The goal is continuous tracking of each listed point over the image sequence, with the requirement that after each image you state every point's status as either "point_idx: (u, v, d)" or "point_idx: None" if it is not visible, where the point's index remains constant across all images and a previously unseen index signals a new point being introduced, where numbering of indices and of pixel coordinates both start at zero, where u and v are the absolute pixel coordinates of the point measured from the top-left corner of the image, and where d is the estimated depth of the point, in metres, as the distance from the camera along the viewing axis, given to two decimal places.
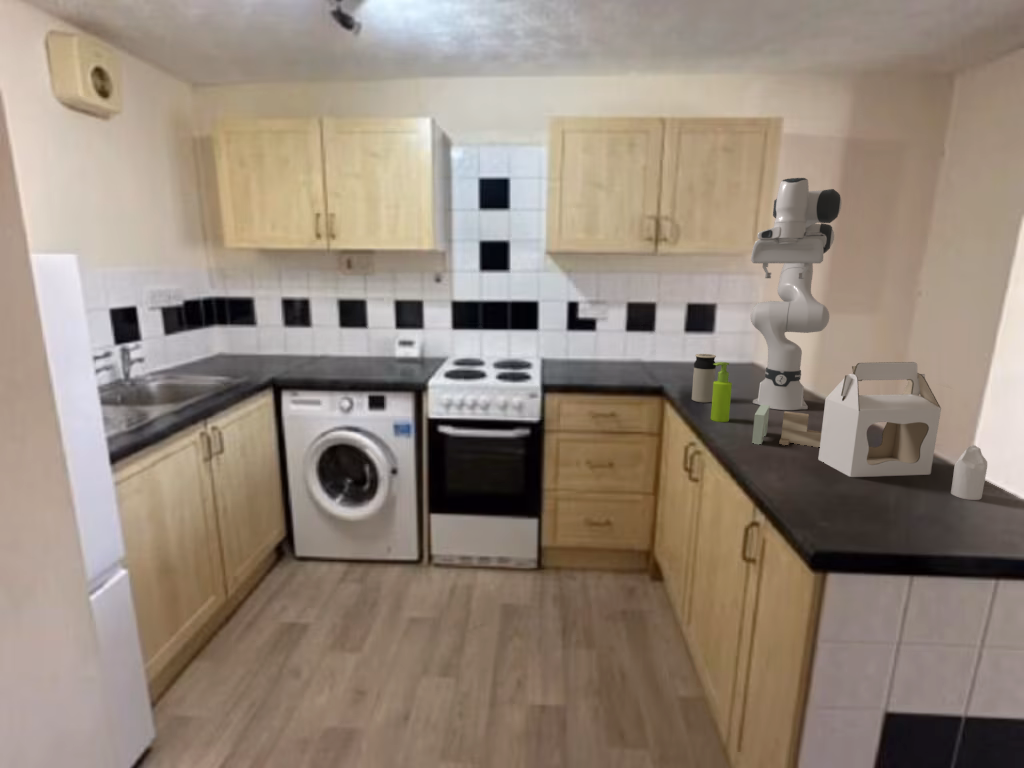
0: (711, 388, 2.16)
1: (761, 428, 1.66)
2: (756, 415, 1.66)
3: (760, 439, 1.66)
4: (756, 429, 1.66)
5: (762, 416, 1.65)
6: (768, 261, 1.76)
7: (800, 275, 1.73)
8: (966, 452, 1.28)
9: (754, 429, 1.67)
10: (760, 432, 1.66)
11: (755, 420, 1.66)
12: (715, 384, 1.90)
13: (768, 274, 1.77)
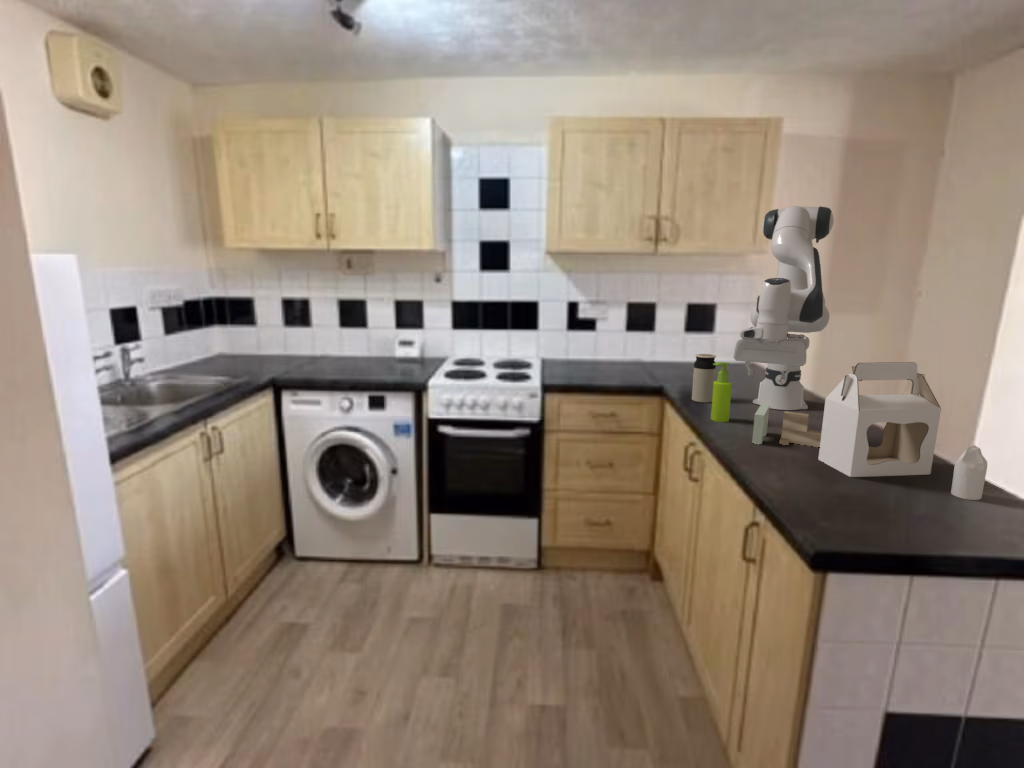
0: (711, 388, 2.16)
1: (761, 428, 1.66)
2: (756, 415, 1.66)
3: (760, 439, 1.66)
4: (756, 429, 1.66)
5: (762, 416, 1.65)
6: (750, 360, 1.73)
7: (783, 376, 1.70)
8: (966, 452, 1.28)
9: (754, 429, 1.67)
10: (760, 432, 1.66)
11: (755, 420, 1.66)
12: (715, 384, 1.90)
13: (751, 372, 1.74)
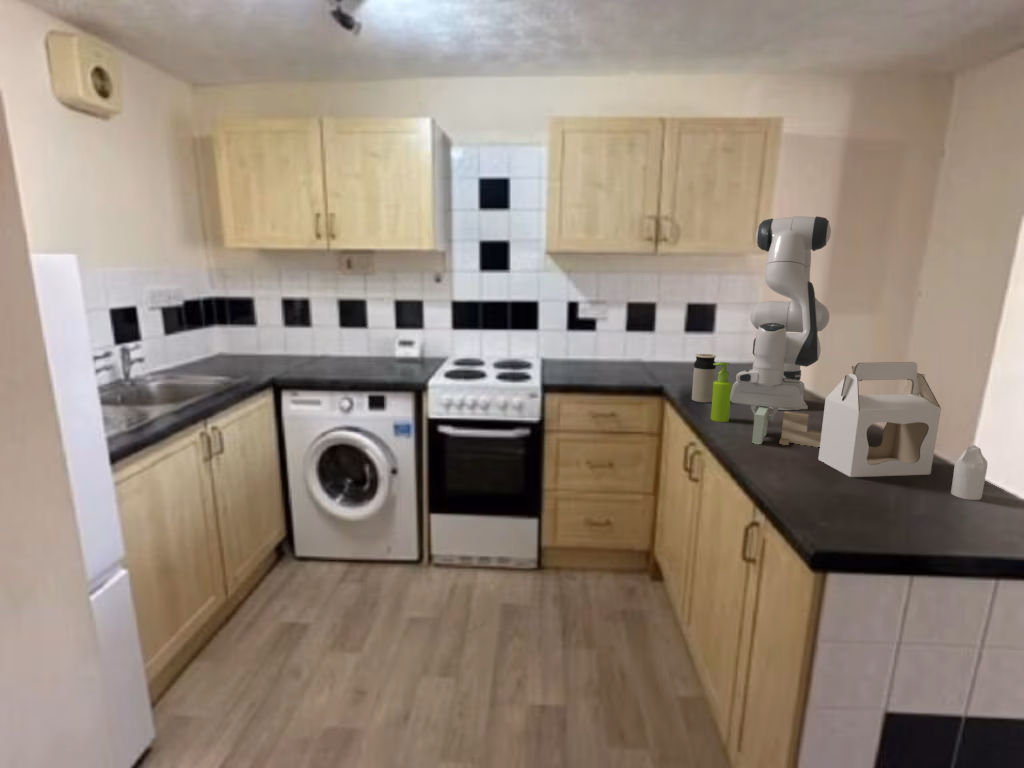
0: (711, 388, 2.16)
1: (761, 428, 1.66)
2: (756, 415, 1.66)
3: (760, 439, 1.66)
4: (756, 429, 1.66)
5: (762, 416, 1.65)
6: (747, 403, 1.76)
7: (769, 418, 1.74)
8: (966, 452, 1.28)
9: (754, 429, 1.67)
10: (760, 432, 1.66)
11: (755, 420, 1.66)
12: (715, 384, 1.90)
13: None
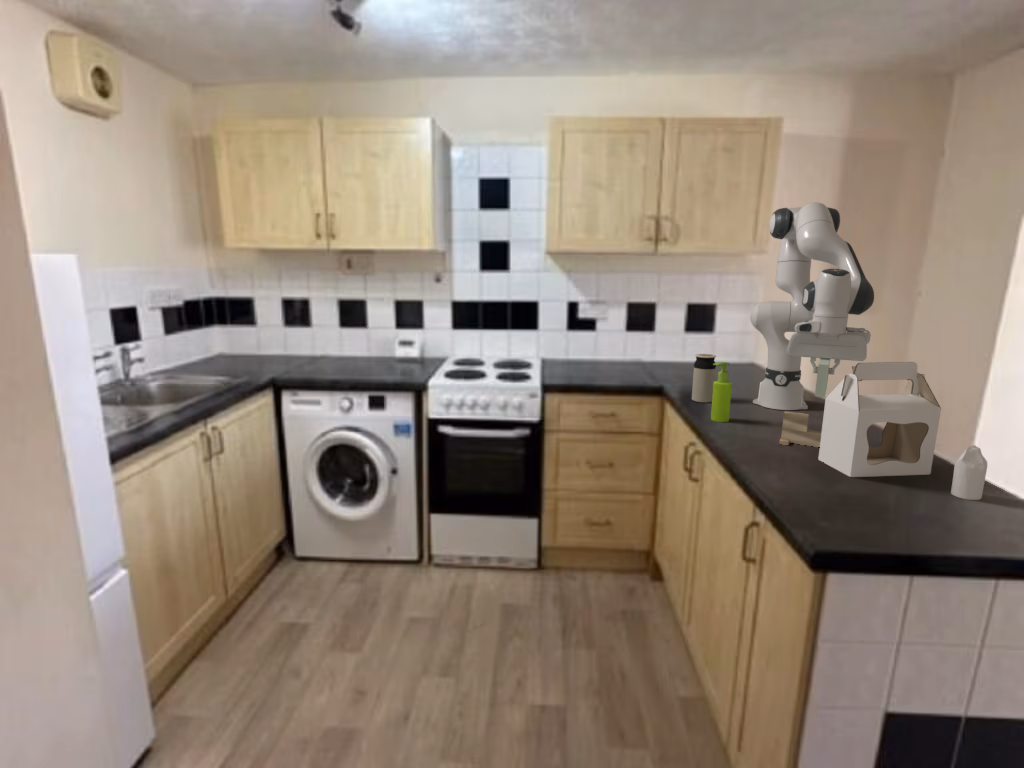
0: (711, 388, 2.16)
1: (825, 379, 1.55)
2: (820, 365, 1.55)
3: (824, 391, 1.55)
4: (820, 380, 1.55)
5: (827, 366, 1.54)
6: (806, 355, 1.65)
7: (830, 371, 1.63)
8: (966, 452, 1.28)
9: (817, 380, 1.56)
10: (824, 383, 1.55)
11: (819, 370, 1.55)
12: (715, 384, 1.90)
13: (816, 369, 1.65)
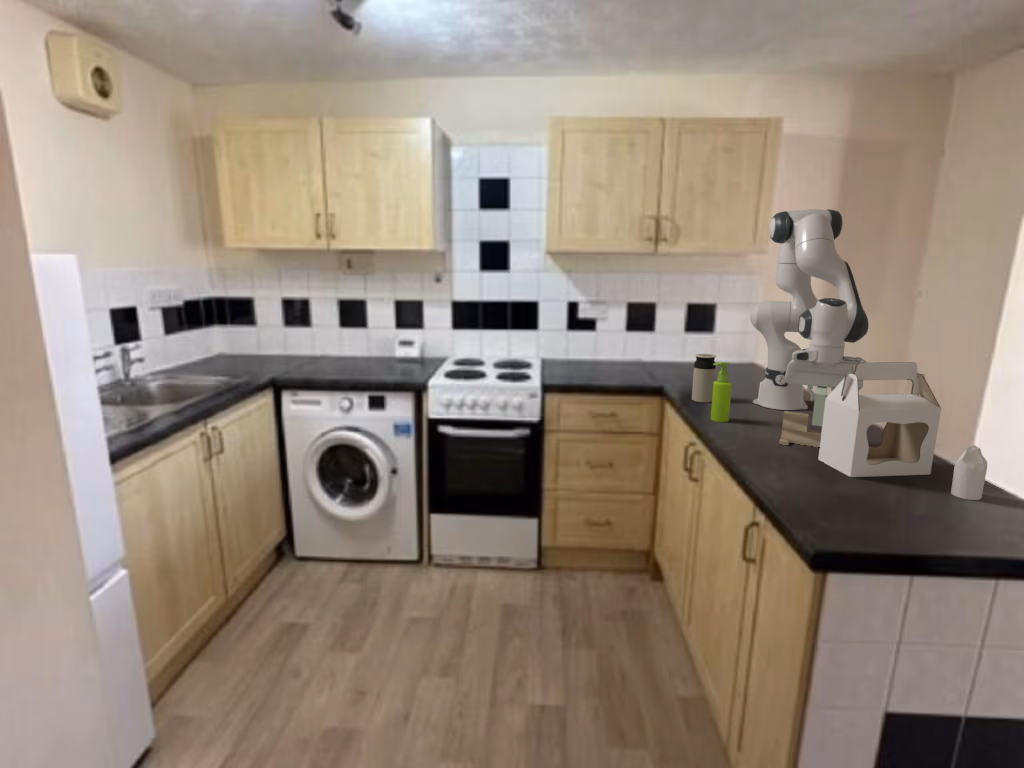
0: (711, 388, 2.16)
1: (822, 408, 1.56)
2: (817, 395, 1.56)
3: (821, 420, 1.57)
4: (817, 410, 1.57)
5: (824, 396, 1.56)
6: (803, 383, 1.67)
7: None
8: (966, 452, 1.28)
9: (814, 410, 1.57)
10: (821, 413, 1.57)
11: (816, 400, 1.57)
12: (715, 384, 1.90)
13: (813, 397, 1.67)
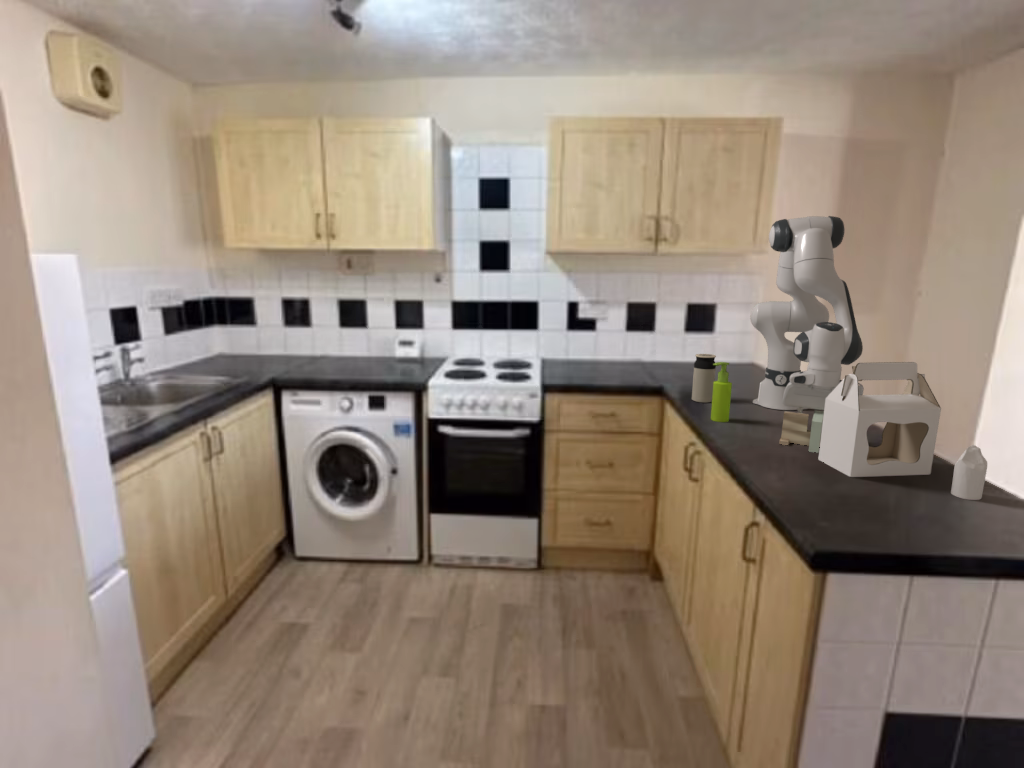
0: (711, 388, 2.16)
1: (819, 436, 1.58)
2: (813, 422, 1.58)
3: (817, 447, 1.59)
4: (813, 437, 1.59)
5: (820, 423, 1.58)
6: (801, 406, 1.68)
7: None
8: (966, 452, 1.28)
9: (811, 437, 1.59)
10: (817, 440, 1.59)
11: (812, 427, 1.59)
12: (715, 384, 1.90)
13: None
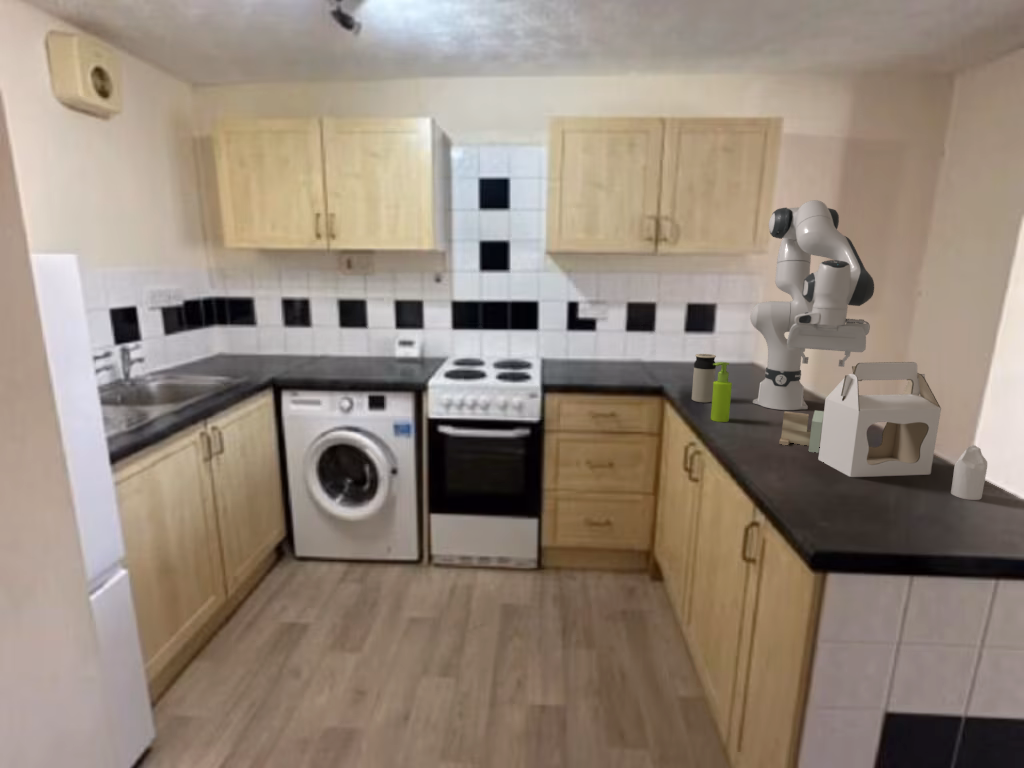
0: (711, 388, 2.16)
1: (819, 436, 1.58)
2: (813, 422, 1.58)
3: (817, 447, 1.59)
4: (813, 437, 1.59)
5: (820, 423, 1.58)
6: (806, 346, 1.66)
7: (840, 363, 1.63)
8: (966, 452, 1.28)
9: (811, 437, 1.59)
10: (817, 440, 1.59)
11: (812, 427, 1.59)
12: (715, 384, 1.90)
13: (805, 359, 1.67)
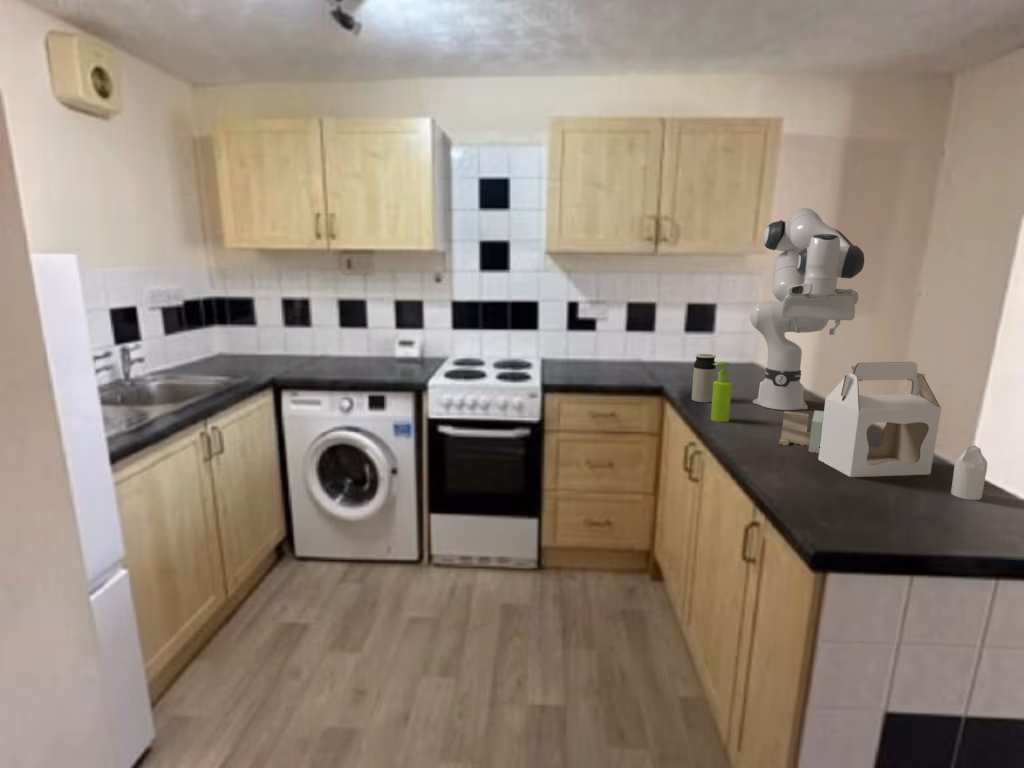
0: (711, 388, 2.16)
1: (819, 436, 1.58)
2: (813, 422, 1.58)
3: (817, 447, 1.59)
4: (813, 437, 1.59)
5: (820, 423, 1.58)
6: (798, 316, 1.75)
7: (831, 331, 1.72)
8: (966, 452, 1.28)
9: (811, 437, 1.59)
10: (817, 440, 1.59)
11: (812, 427, 1.59)
12: (715, 384, 1.90)
13: (798, 329, 1.77)
